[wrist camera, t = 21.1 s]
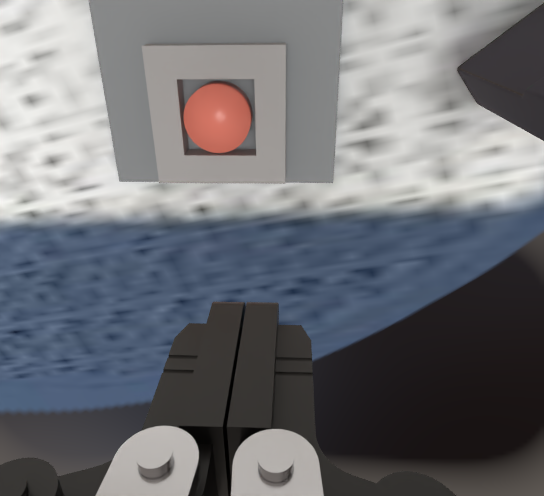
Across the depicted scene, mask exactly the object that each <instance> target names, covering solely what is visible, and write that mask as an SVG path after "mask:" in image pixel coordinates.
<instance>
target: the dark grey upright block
mask: <svg viewBox="0 0 544 496" xmlns="http://www.w3.org/2000/svg"><path fill="white" fill-rule="evenodd" d="M458 72H459V74H460V76H461V77H462V79H463V81H464V82H465V84H466V86H467V87H468V89H469V91H470V92H471V94H472V95H473V97H474V99H475V100H476V102H477V103H478V104H479V105H481V106H483V107H484V108H486V109H488V110H490V111H491V112H493V113H495V114H497V115H499V116H500V117H502V118H504V119H506V120H507V121H509V122H511V123H513V124H515V125H516V126H518V127H520V128H522V129H524V130H525V131H527V132H529V133H531V134H532V135H534V136H536V137H538V138H540V139H541V140H543V141H544V3H543V4H542V5H541V6H539V7H538V8H537V9H535V10H534V11H533V12H531V13H530V14H529V15H527V16H526V17H525V18H523V19H522V20H521V21H519V22H518V23H517V24H515V25H514V26H513V27H511V28H510V29H509V30H507V31H506V32H505V33H503V34H502V35H501V36H499V37H498V38H497V39H495V40H494V41H493V42H491V43H490V44H489V45H487V46H486V47H485V48H483V49H482V50H481V51H479V52H478V53H477V54H475V55H474V56H473V57H471V58H470V59H468V60H467V61H466V62H464V63H463V64H462V65H461V66H460V67H459V68H458Z"/></svg>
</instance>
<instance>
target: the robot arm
mask: <svg viewBox="0 0 544 496" xmlns="http://www.w3.org/2000/svg"><path fill="white" fill-rule="evenodd" d="M312 374H313V373H312V351H311V340H310V338H309V337H308V335H307V334H306V332H305V331H304V329H303V328H302V326H301V325H279V306H278V303H258V302H247V304H246V305H245V302H213V303H212V306H211V309H210V313H209V317H208V320H207V324H194V323H189V324H188V325H187V326H186V327H185V328H184V329H183V330H182V331H181V332H180V333H179V334H178V335H177V336H176V337H175V339H174V342H173V344H172V347H171V350H170V353H169V358H167V361H166V364H165V367H164V372H163V373H162V375H161V378H160V381H159V384H158V386H157V389H156V392H155V395H154V398H153V400H152V403H151V406H150V409H149V412H148V414H147V417H146V420H145V423H144V426H143V428H142V431H140V432H139V433H137V434H135V435H133V436H132V437H131V438H129V439H128V440H127V441H126V442H125V443H124V444H123V445H122V446H121V447H120V448H119V450H118V452H117V453H116V455H115V456H114V459H113V460H111V461H109V462H107V463H105V464H103V465H100V466H96V467H93V468H90V469H86V470H82V471H78V472H74V473H70V474H66V475H63V476H57V473H56V471H55V469H54V468H53V466H51V465H50V464H49V463H48V462H46V461H44V460H41V459H38V458H22V459H16V460H13V461H10V462H7V463H4V464H2V465H0V496H456V495H455V494H454V493H453V492H452V491H450V490H449V489H448V488H446V486H444V485H443V484H442V483H440V482H439V481H437V480H435V479H433V478H431V477H429V476H427V475H424V474H420V473H417V472H408V471H405V472H396V473H392V474H390V475H387V476H386V477H384V478H382V479H381V480H380V481H379V482H378V483H374V482H371V481H368V480H365V479H362V478H359V477H356V476H353V475H351V474H349V473H346V472H344V471H342V470H341V469H339V468H337V467H336V466H335V465H334V464H332V463H331V462H330V461H329V460H328V459H327V458H326V457H325V455H324V454H323V453H322V451H321V450H320V447H319V445H318V443H317V440H316V433H315V415H314V393H313V375H312Z"/></svg>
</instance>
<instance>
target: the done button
mask: <svg viewBox="0 0 544 496" xmlns="http://www.w3.org/2000/svg"><path fill="white" fill-rule="evenodd" d="M252 118H253V112H252V106H251V103H250V101H249V99H248V97H247V95H246V94H245V93H244V92H243V90H241V89H240V88H239V87H238V86H236V85H234V84H233V83H230V82H227V81H212V82H209V83H206V84H204V85H203V86H201V87H200V88H199V89H198V90H197V91H196V92H195V93H194V94H193V95H192V96H191V97H190V98H189V100H188V101H187V103H186V106H185V109H184V125H185V129H186V131H187V133H188V135H189V137H190V138H191V139H192V141H193V142H194V143H195V144H196V145H198V146H199V147H200V148H202V149H204V150H206V151H209V152H213V153H225V152H229V151H232V150H234V149H235V148H237V147H238V146H239V145H241V144H242V142H243V141H244V140H245V138H246V137H247V135H248V132H249V129H250V126H251V123H252Z"/></svg>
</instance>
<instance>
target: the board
mask: <svg viewBox="0 0 544 496" xmlns="http://www.w3.org/2000/svg"><path fill="white" fill-rule="evenodd" d="M89 6H90V11H91V17H92V23H93V29H94V35H95V41H96V47H97V53H98V58H99V64H100V70H101V76H102V82H103V88H104V94H105V99H106V105H107V111H108V117H109V123H110V129H111V135H112V141H113V146H114V152H115V158H116V164H117V170H118V176H119V181H121V182H159V183H285V182H300V183H333V175H334V156H335V138H336V119H337V101H338V82H339V64H340V45H341V27H342V8H343V0H89ZM212 81H227V82H230V83H233V84H234V85H236V86H238V87H239V88H240V89H241V90H243V92H244V93H245V94H246V95H247V97H248V99H249V101H250V103H251V106H252V112H253V118H252V123H251V126H250V129H249V132H248V135H247V137H246V138H245V140H244V141H243V142H242V144H241V145H239V146H238V147H237V148H235V149H234V150H232V151H229V152H225V153H213V152H209V151H206V150H204V149H202V148H200V147H199V146H198V145H196V144H195V143H194V142H193V141H192V139H191V138H190V137H189V135H188V133H187V131H186V129H185V125H184V109H185V106H186V103H187V101H188V100H189V98H190V97H191V96H192V95H193V94H194V93H195V92H196V91H197V90H198V89H199V88H200V87H201V86H203V85H204V84H206V83H209V82H212Z"/></svg>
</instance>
